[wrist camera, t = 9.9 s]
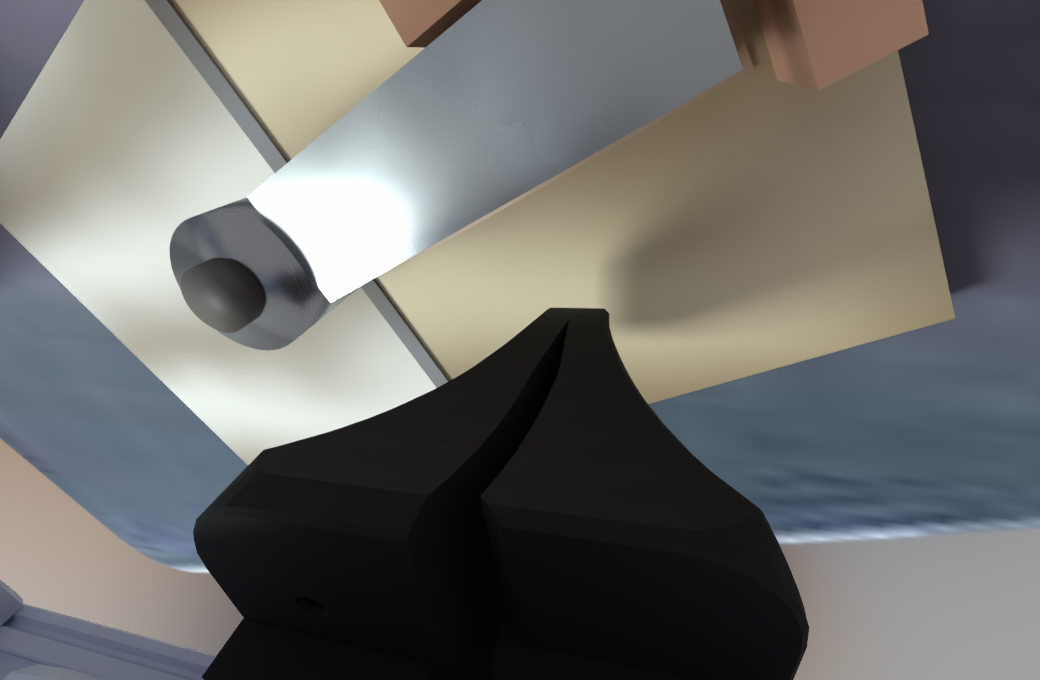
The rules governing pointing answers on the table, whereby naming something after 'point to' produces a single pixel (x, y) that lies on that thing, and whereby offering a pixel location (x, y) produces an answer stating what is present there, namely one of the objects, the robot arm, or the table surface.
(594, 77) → the latch
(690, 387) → the board
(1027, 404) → the table surface
